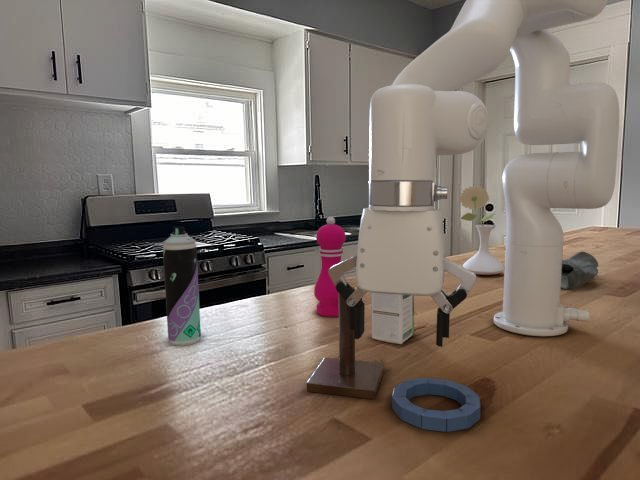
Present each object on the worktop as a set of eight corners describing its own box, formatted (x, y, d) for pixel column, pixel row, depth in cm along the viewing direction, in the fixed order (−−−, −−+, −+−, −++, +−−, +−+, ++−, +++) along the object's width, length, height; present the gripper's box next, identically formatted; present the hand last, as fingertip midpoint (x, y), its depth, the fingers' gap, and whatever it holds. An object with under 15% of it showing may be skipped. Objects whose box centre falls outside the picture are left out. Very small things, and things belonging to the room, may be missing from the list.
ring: (477, 394, 60) (477, 382, 60) (482, 436, 50) (482, 423, 50) (397, 385, 62) (397, 374, 62) (387, 424, 53) (387, 411, 53)
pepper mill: (346, 318, 92) (345, 218, 90) (311, 316, 94) (309, 218, 91) (351, 308, 99) (350, 215, 97) (318, 306, 101) (316, 215, 98)
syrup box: (402, 345, 77) (403, 259, 75) (370, 338, 80) (370, 256, 78) (414, 335, 82) (415, 254, 80) (383, 329, 85) (384, 251, 83)
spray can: (171, 347, 77) (164, 229, 75) (166, 338, 82) (159, 226, 80) (204, 342, 80) (198, 226, 77) (197, 332, 85) (191, 224, 82)
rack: (384, 370, 67) (384, 281, 66) (374, 399, 59) (374, 298, 57) (324, 364, 70) (323, 278, 68) (306, 391, 61) (304, 294, 59)
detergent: (586, 293, 109) (617, 274, 126) (585, 263, 108) (616, 248, 125) (529, 288, 118) (565, 271, 135) (528, 260, 118) (564, 247, 134)
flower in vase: (508, 271, 134) (511, 185, 131) (499, 279, 124) (503, 186, 121) (462, 267, 141) (464, 185, 138) (451, 274, 131) (453, 186, 128)
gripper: (477, 196, 55) (472, 335, 57) (336, 195, 60) (336, 324, 62) (482, 198, 48) (475, 357, 50) (321, 197, 53) (321, 343, 55)
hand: (398, 339), depth 56 cm, fingers open, 9 cm apart
